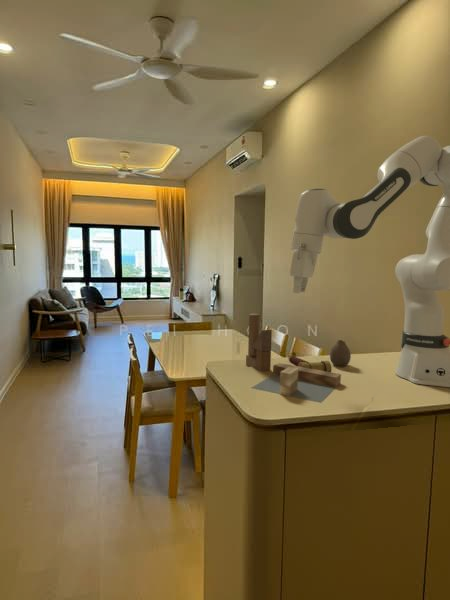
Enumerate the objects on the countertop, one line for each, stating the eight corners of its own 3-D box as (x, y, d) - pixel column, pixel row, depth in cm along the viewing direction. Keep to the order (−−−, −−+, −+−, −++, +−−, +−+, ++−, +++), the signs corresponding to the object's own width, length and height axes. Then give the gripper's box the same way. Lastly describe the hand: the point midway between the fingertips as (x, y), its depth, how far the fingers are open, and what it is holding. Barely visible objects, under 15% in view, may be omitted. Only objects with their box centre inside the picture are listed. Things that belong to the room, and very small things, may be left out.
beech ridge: (297, 389, 110) (298, 368, 109) (289, 395, 105) (290, 373, 104) (288, 387, 111) (288, 366, 111) (279, 393, 106) (280, 372, 106)
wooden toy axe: (261, 373, 127) (262, 318, 125) (245, 365, 136) (246, 313, 134) (270, 372, 128) (272, 317, 126) (254, 364, 138) (256, 313, 136)
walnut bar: (340, 387, 116) (340, 374, 115) (335, 391, 113) (336, 377, 112) (278, 374, 127) (278, 362, 126) (272, 378, 124) (273, 365, 123)
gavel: (276, 352, 143) (301, 351, 146) (276, 364, 144) (301, 363, 146) (303, 364, 123) (332, 362, 126) (303, 378, 123) (331, 376, 126)
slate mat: (336, 390, 112) (336, 387, 112) (320, 405, 101) (321, 402, 100) (271, 377, 123) (271, 375, 123) (251, 390, 111) (251, 387, 111)
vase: (328, 366, 136) (329, 341, 135) (331, 361, 143) (332, 338, 142) (349, 369, 134) (350, 343, 133) (351, 364, 140) (352, 339, 139)
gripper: (312, 243, 104) (304, 295, 105) (321, 248, 123) (314, 292, 125) (288, 241, 106) (281, 291, 108) (301, 246, 125) (294, 289, 127)
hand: (299, 292), depth 116 cm, fingers open, 8 cm apart
